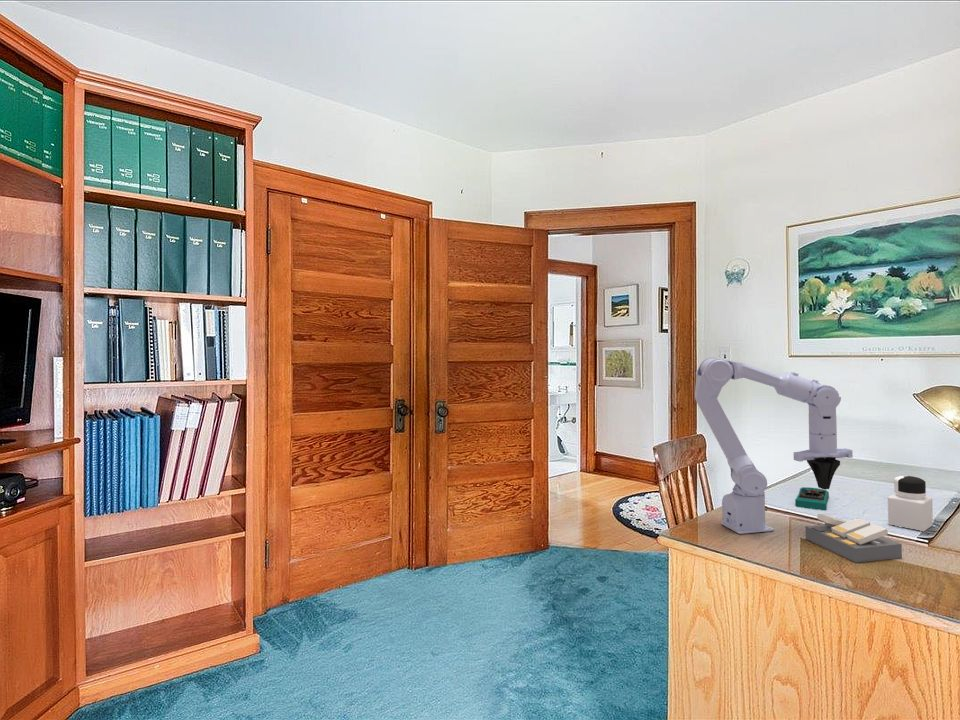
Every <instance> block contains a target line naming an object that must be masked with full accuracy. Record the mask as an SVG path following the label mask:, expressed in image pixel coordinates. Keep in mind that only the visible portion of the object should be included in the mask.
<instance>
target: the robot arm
mask: <svg viewBox="0 0 960 720" xmlns="http://www.w3.org/2000/svg"><path fill="white" fill-rule="evenodd" d="M742 378H743V379H747V380H750V381H752V382H756V383H760V384H763V385H767V386H769V387H772V388H774V390H775V392H776V393H777V394H778V395H779V396H782V397H786V398H787V399H792V400H794V401H798V402H801V403H804V404H807V405H808V446H809V447H808V449H805V450H801V451H800V450H799V451H794V452H793V461H795V462H801V463H802V462H804V461H806V463H807V464H808V465H809V467H810V469H811V470H812V473H813V475H814V477H815V481H816V484H817V487H818V489H823V490H830V487H831V485H832V480H833V477H834V475H835V473H836V472H837V470H838V468H839V467H840V466H841V460H839V459H841V458H847V459H850V458H851V459H852V458H853V449H850V448H837V447H838V434H837V433H838V432H837V431H838V430H837V425H838V423H837V407H838V406H839V405H840V403H841V400H842V397H841V396H840V394H839V392H838V390H837V389H836V388H835V387H833V386H830V385H827V384H821V383H819V380H817V379H812V380H811V379H808V378H805V377H801V376H799V373H796V372H793V371H792V372H790V373H789V372H784V373H782V374H780V375H778V374H775V373H772V372H769V371H767V370H764V369H761V368H758V367H756V366H753V365H750V364H747V363H745V362H741V361H740V362H739V361H734V360H726V359H725V358H716V357H707V358H704V359H703V360H702V361H701V363H700V364H699V366H698V368H697V370H696V372H695V388H694V399H695V402H696V403H697V406H698V407H699V409H700V411H701V412H702V415H703V417H704V419H705V420H706V423H707V424H708V427H709V428H710V430H711V432H712V434H713V435H714V438H715V439H716V441H717V443H718V445H719V447H720V449H721V451H722V452H723V454H724V457H725V458H726V460H727V465H728V467H729V470H730V479H731V480H732V481H733V482H734V486H733V488H732V491H731V493H727V494H725V495H723V496H722V499H721V515H722V516H721V517H722V519H721V520H722V521H720V525H723V526H724V527H726V528H727V529H730V530H731V531H733V532H735V533H737V534H740V535H742V534H754V533H762V532H773V531H775V528H773V527H771V526H768V525H767V524H766V500H765V499H766V498H765V497H766V493H765V491H766V489H767V488H768V481H767V480H768V479H767V478H766V477H767V476H765V474H763V473H762V472H761V471H759V470H758V469H757V467H756V466H755V463H754V462H753V461H752V460H751V458H750V457H749V456H748V454H747V452H746V450H745V449H744V447H743V445H742V443H741V441H740V439H739V437H738V435H737V434H736V431H735V430H734V428H733V426H732V424H731V422H730V420H729V418H728V417H727V415H726V413H725V411H724V410H723V409H724V408H723V407H722V405H721V403H720V402H719V400H718V398H719V395H720V393H721V391H722V390H723V389H722V388H724V386H725V385H726V384H727V383H728V382H730V380H734V381H735V380H739V379H742Z"/></svg>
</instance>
